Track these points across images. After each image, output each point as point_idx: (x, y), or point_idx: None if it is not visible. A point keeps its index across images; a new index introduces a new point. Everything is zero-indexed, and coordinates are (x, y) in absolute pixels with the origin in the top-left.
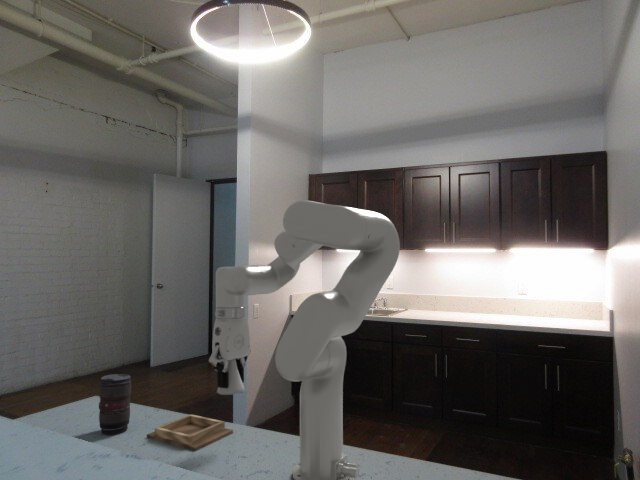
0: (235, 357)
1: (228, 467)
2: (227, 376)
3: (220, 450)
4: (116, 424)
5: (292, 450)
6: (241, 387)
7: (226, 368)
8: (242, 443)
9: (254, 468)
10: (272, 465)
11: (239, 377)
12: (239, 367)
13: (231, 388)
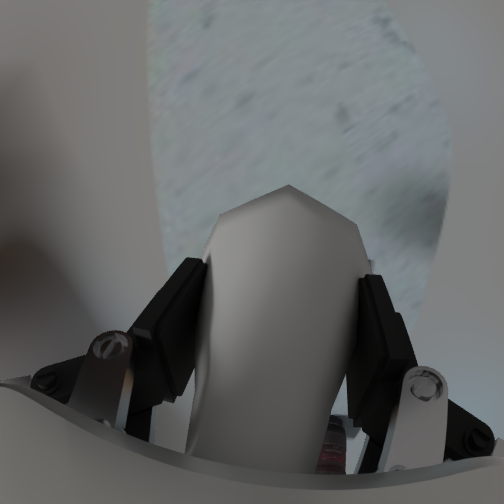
0: (351, 501)
1: (413, 118)
2: (396, 327)
3: (336, 201)
4: (338, 430)
5: (236, 25)
6: (278, 209)
7: (411, 396)
8: (265, 174)
9: (387, 53)
10: (348, 21)
11: (243, 276)
12: (159, 358)
13: (352, 250)
